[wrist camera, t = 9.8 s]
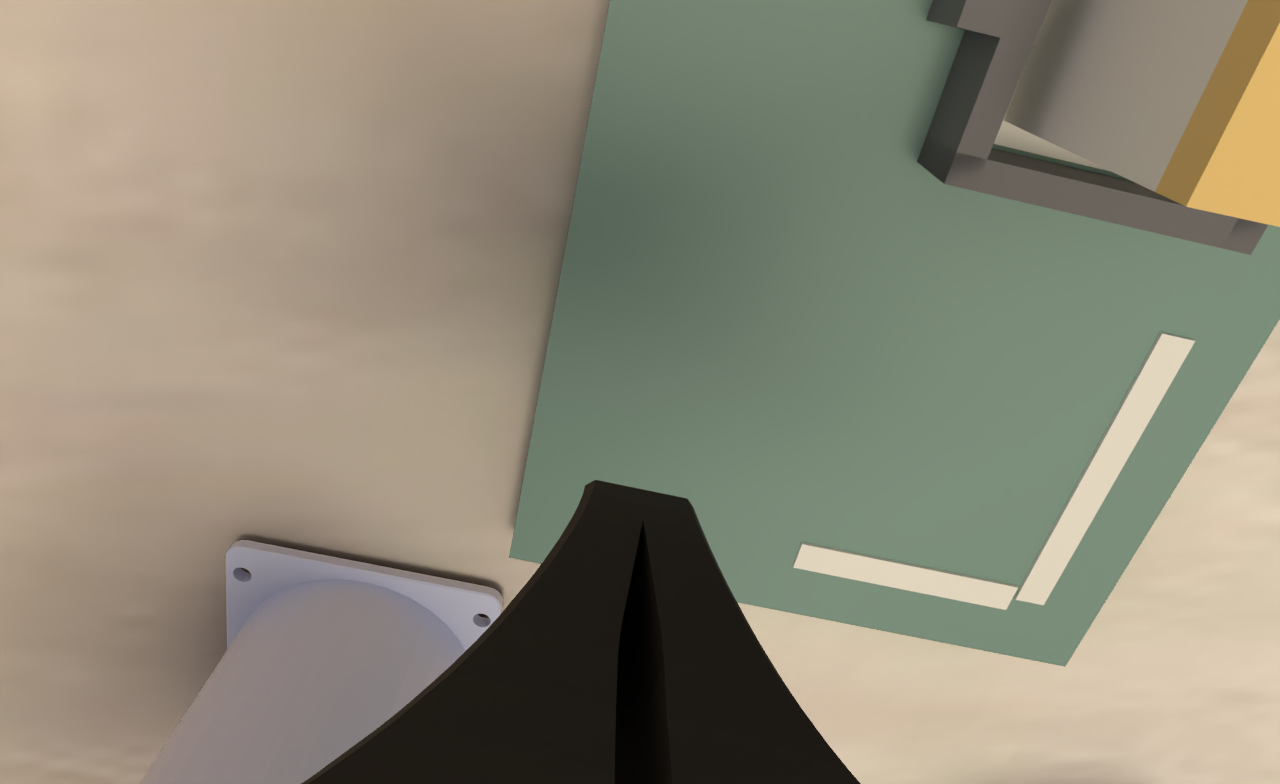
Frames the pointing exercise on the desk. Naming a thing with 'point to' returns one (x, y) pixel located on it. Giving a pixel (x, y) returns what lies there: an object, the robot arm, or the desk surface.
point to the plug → (1164, 97)
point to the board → (880, 320)
